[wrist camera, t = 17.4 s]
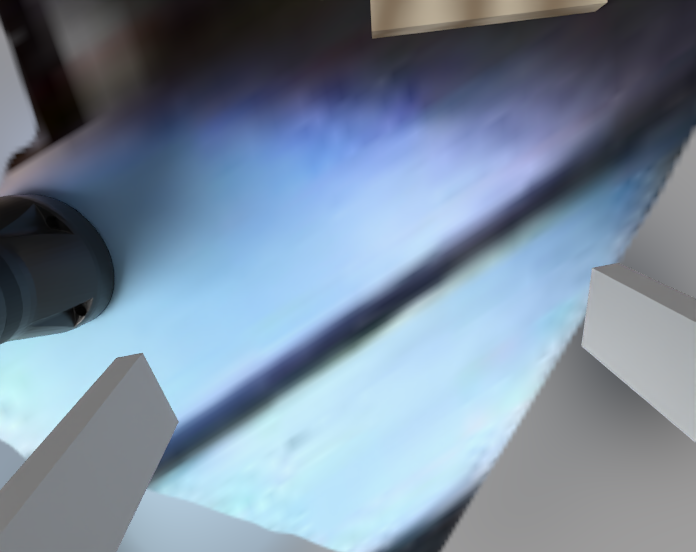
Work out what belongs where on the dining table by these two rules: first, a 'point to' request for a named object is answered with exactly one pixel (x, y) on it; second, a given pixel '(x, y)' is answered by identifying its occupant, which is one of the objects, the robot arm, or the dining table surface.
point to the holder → (465, 13)
